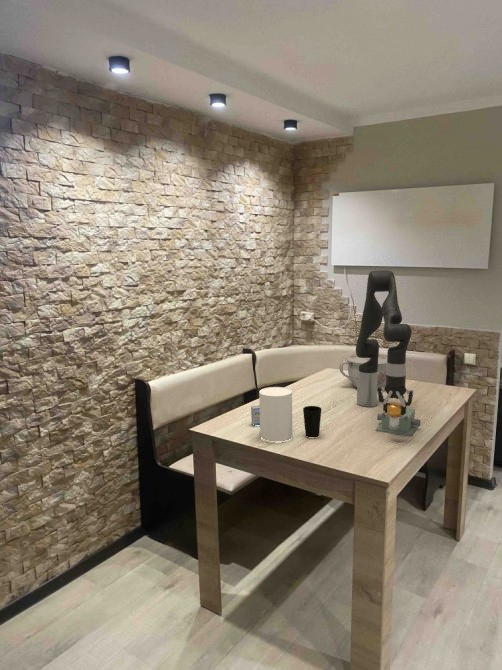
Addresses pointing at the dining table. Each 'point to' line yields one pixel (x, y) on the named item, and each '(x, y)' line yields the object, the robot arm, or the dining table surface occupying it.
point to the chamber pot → (355, 361)
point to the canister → (275, 413)
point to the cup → (312, 420)
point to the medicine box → (255, 415)
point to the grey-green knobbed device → (400, 423)
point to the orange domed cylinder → (394, 414)
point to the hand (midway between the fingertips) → (394, 413)
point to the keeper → (399, 416)
